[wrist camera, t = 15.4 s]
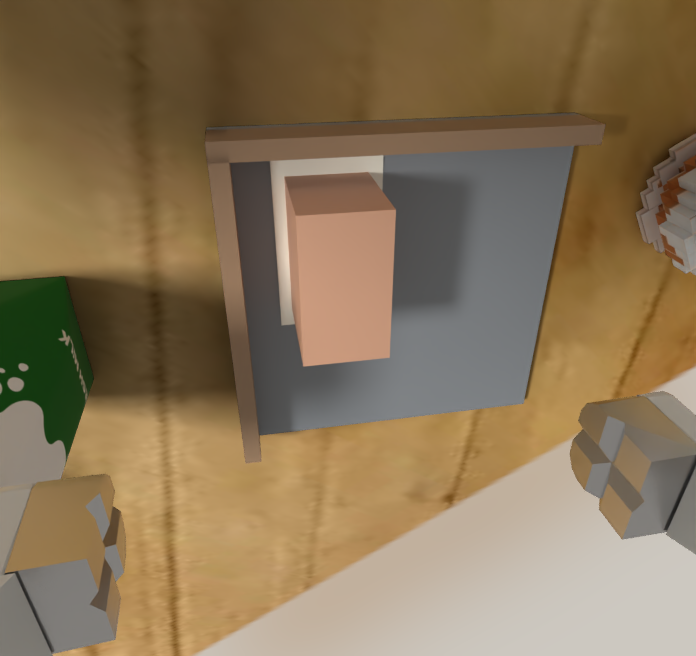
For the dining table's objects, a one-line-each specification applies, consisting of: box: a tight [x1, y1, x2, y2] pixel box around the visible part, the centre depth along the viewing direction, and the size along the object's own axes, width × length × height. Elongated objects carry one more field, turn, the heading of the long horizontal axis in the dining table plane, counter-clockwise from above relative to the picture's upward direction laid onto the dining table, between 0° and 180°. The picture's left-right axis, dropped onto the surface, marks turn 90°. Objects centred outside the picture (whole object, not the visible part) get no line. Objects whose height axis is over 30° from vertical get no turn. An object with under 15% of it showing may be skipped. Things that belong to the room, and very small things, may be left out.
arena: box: [205, 113, 606, 463], centre depth 34 cm, size 20×20×3 cm
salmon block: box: [284, 172, 396, 367], centre depth 30 cm, size 8×4×6 cm, turn 0°
